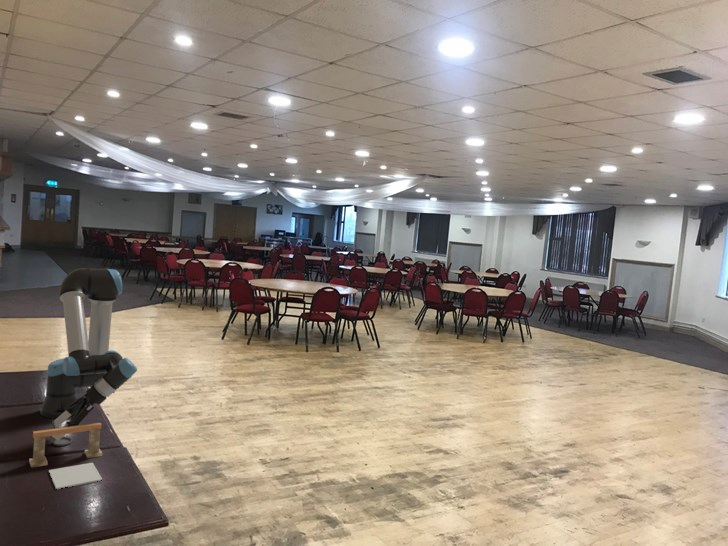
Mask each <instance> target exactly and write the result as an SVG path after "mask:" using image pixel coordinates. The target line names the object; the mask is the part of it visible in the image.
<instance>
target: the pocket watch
mask: <svg viewBox="0 0 728 546" xmlns="http://www.w3.org/2000/svg"><path fill="white" fill-rule="evenodd" d="M51 421H52V422H53V423H52V424H51V425H50V427H49V429H56V426H55V425H54V424H55V423H54V418H51ZM49 440H50V443H51V444H52V445H54V446H67V445H69V444H71V443H72V442H73V439H72V437H68V436H67V437H66V436H65V437H64V436H63V437H62V438H61V439H60V440H58V441H57V440H56V439H55V438H54V437H52V436H49Z"/></svg>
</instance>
